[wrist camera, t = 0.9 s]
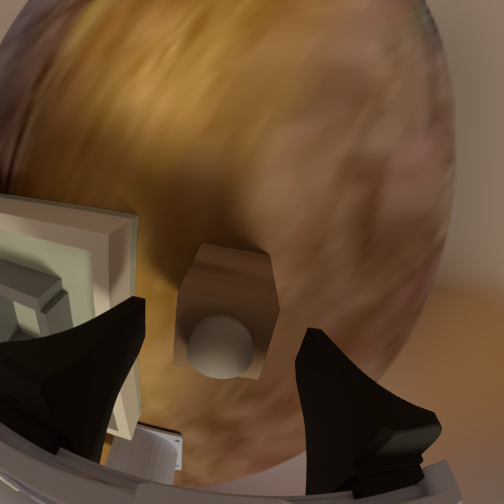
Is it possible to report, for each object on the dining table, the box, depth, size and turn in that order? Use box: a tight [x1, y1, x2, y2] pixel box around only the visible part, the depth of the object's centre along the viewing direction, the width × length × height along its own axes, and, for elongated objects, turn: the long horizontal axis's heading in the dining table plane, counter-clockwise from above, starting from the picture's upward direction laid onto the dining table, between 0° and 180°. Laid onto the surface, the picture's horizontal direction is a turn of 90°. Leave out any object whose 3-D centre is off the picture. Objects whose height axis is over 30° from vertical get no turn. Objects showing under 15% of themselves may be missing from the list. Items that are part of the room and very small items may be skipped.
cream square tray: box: [0, 193, 142, 440], centre depth 16 cm, size 18×18×4 cm
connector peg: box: [173, 243, 280, 379], centre depth 14 cm, size 4×4×7 cm
